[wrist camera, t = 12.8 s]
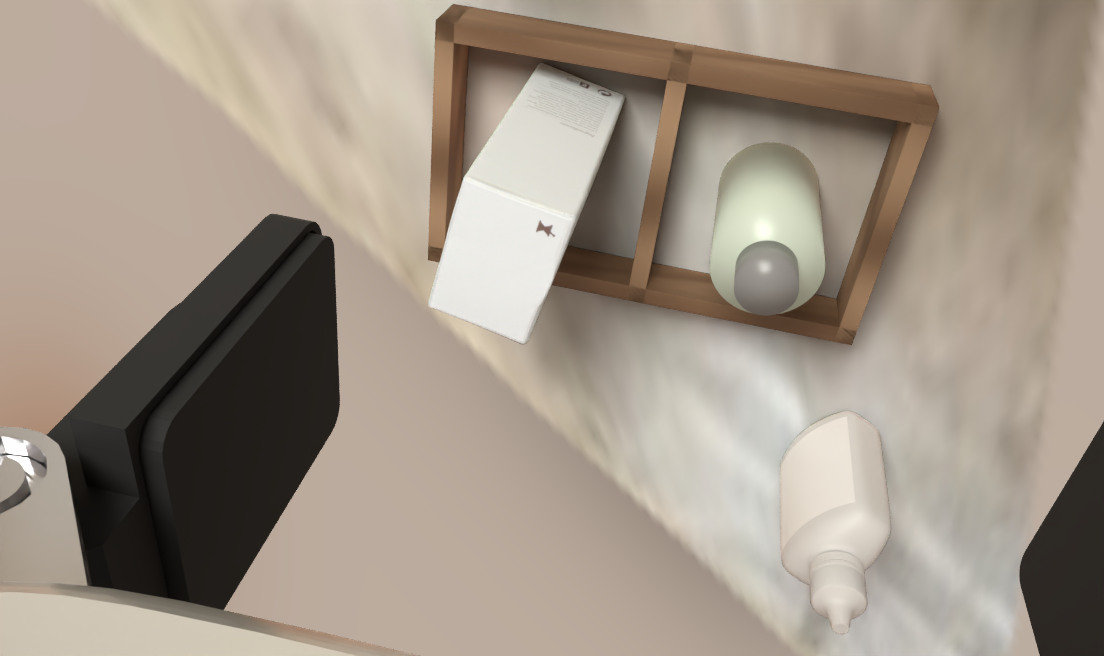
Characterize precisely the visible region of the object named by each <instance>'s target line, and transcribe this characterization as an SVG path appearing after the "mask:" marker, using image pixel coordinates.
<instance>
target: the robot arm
mask: <svg viewBox="0 0 1104 656" xmlns="http://www.w3.org/2000/svg"><path fill="white" fill-rule="evenodd" d="M334 260H335V258H334V244H333V241H332V239H331V238H330V237H328V236H323V235H322V233H321V229H320V227H319V225H318V224H317V223H316V222H312V221H307V220H302V219H297V218H292V217H287V216H282V215H277V214H270V215H268V216H267V217H265V218H264V219H263V220H262V221H261V222H260V223H259V224H258V226H256V227H255V228H254V229H253V230H252V231H251V233H249V235H248V236H247V237H246V238H245V239H244V240H243V241H242V242H241V243H240V244H239V245H238V246H237V247H236V248H235V249H234V250H233V251H232V252H231V253H230V254H229V255H228V256H227V257H226V258H225V259H224V260H223V261H222V262H221V263H220V264H219V265H218V266H217V267H216V268H215V269H214V270H213V271H212V272H211V273H210V274H209V275H208V276H207V277H206V278H205V279H204V280H203V281H202V282H201V283H200V284H199V285H198V286H197V287H196V288H195V289H194V290H193V291H192V292H191V293H190V294H189V295H188V296H187V297H186V298H185V299H184V301H182V302H181V303H179V304H178V305H177V306H175V307H174V308H173V309H171V310H170V311H169V312H168V313H167V314H166V315H165V316H164V317H163V318H162V319H161V320H160V321H159V322H158V323H157V324H156V325H155V326H154V327H153V328H152V329H151V330H150V331H149V332H148V333H147V334H146V335H145V336H144V337H143V338H142V339H141V340H140V341H139V342H138V343H137V345H135V346H134V348H132V349H131V350H130V351H129V352H128V353H127V354H126V355H125V356H124V357H123V358H122V359H121V361H119V362H118V364H117V365H116V366H115V367H114V368H113V369H112V370H111V371H110V372H109V373H108V374H107V375H106V376H105V377H104V378H103V379H102V380H101V381H100V382H99V383H98V384H97V385H96V386H95V387H94V388H93V389H92V390H91V391H90V392H89V393H88V394H87V395H86V396H85V397H84V398H83V399H82V400H81V401H80V402H79V403H78V404H77V405H76V406H75V407H74V408H73V409H72V410H71V411H70V412H69V413H68V414H67V415H66V416H65V417H64V418H63V419H62V420H61V421H60V422H59V423H58V424H57V425H56V426H55V427H54V428H53V429H52V430H51V431H50V432H49V433H48V434H47V435H45V434H43V433H40V432H36V431H33V430H30V429H27V428H14V427H0V656H419V655H414V654H410V653H406V652H402V651H398V650H394V649H389V648H385V647H381V646H377V645H373V644H368V643H365V642H361V641H356V640H352V639H348V638H343V637H339V636H335V635H331V634H327V633H323V632H319V631H314V630H310V629H305V628H301V627H296V626H291V625H287V624H283V623H279V622H274V621H269V620H265V619H261V618H255V617H252V616H247V615H243V614H238V613H234V612H229V611H224V608H225V607H226V605H227V603H228V602H229V600H230V598H231V597H232V595H233V593H234V592H235V590H236V589H237V587H238V585H239V583H240V582H241V580H242V579H243V577H244V575H245V574H246V572H247V570H248V569H249V567H250V565H251V564H252V562H253V561H254V559H255V557H256V556H257V554H258V552H259V551H260V549H261V547H262V546H263V544H264V543H265V541H266V539H267V537H268V536H269V534H270V533H271V531H272V529H273V528H274V526H275V524H276V523H277V521H278V520H279V518H280V516H281V514H282V513H283V511H284V510H285V508H286V506H287V505H288V503H289V501H290V499H291V498H292V496H293V495H294V493H295V492H296V490H297V488H298V487H299V485H300V483H301V482H302V480H303V478H304V476H305V475H306V473H307V472H308V470H309V469H310V467H311V465H312V463H313V462H314V460H315V459H316V457H317V455H318V454H319V452H320V450H321V449H322V447H323V445H324V444H325V442H326V441H327V439H328V437H329V436H330V434H331V432H332V430H333V428H334V426H335V424H336V421H337V417H338V413H339V405H340V404H339V403H340V395H339V368H338V340H337V313H336V287H335V261H334ZM1020 584H1021V589H1022V592H1023V596H1024V600H1025V603H1026V607H1027V611H1028V614H1029V617H1030V621H1031V625H1032V629H1033V632H1034V636H1035V640H1036V643H1037V647H1038V651H1039V654H1040V656H1104V422H1103V424H1102V425H1101V427H1100V429H1099V430H1098V432H1097V434H1096V435H1095V437H1094V438H1093V440H1092V442H1091V443H1090V445H1089V447H1088V448H1087V450H1086V452H1085V453H1084V455H1083V457H1082V458H1081V460H1080V462H1079V463H1078V465H1077V467H1076V468H1075V470H1074V472H1073V473H1072V475H1071V477H1070V478H1069V480H1068V481H1067V483H1066V485H1065V486H1064V488H1063V490H1062V491H1061V493H1060V495H1059V496H1058V498H1057V500H1056V501H1055V503H1054V505H1053V506H1052V508H1051V510H1050V511H1049V513H1048V515H1047V516H1046V518H1045V519H1044V521H1043V523H1042V525H1041V526H1040V528H1039V529H1038V531H1037V533H1036V534H1035V536H1034V538H1033V539H1032V541H1031V543H1030V544H1029V546H1028V548H1027V549H1026V551H1025V553H1024V555H1023V557H1022V561H1021V565H1020Z"/></svg>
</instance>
